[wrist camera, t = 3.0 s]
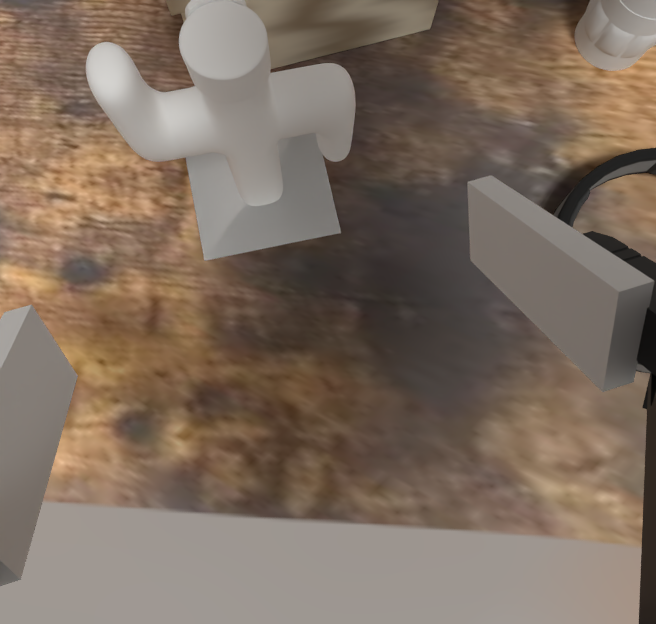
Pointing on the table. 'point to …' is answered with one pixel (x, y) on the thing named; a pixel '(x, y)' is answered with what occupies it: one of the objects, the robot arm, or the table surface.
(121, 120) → the figurine
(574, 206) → the headset
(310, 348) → the table surface
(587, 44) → the binoculars
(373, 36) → the bridge shelf
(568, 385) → the table surface
